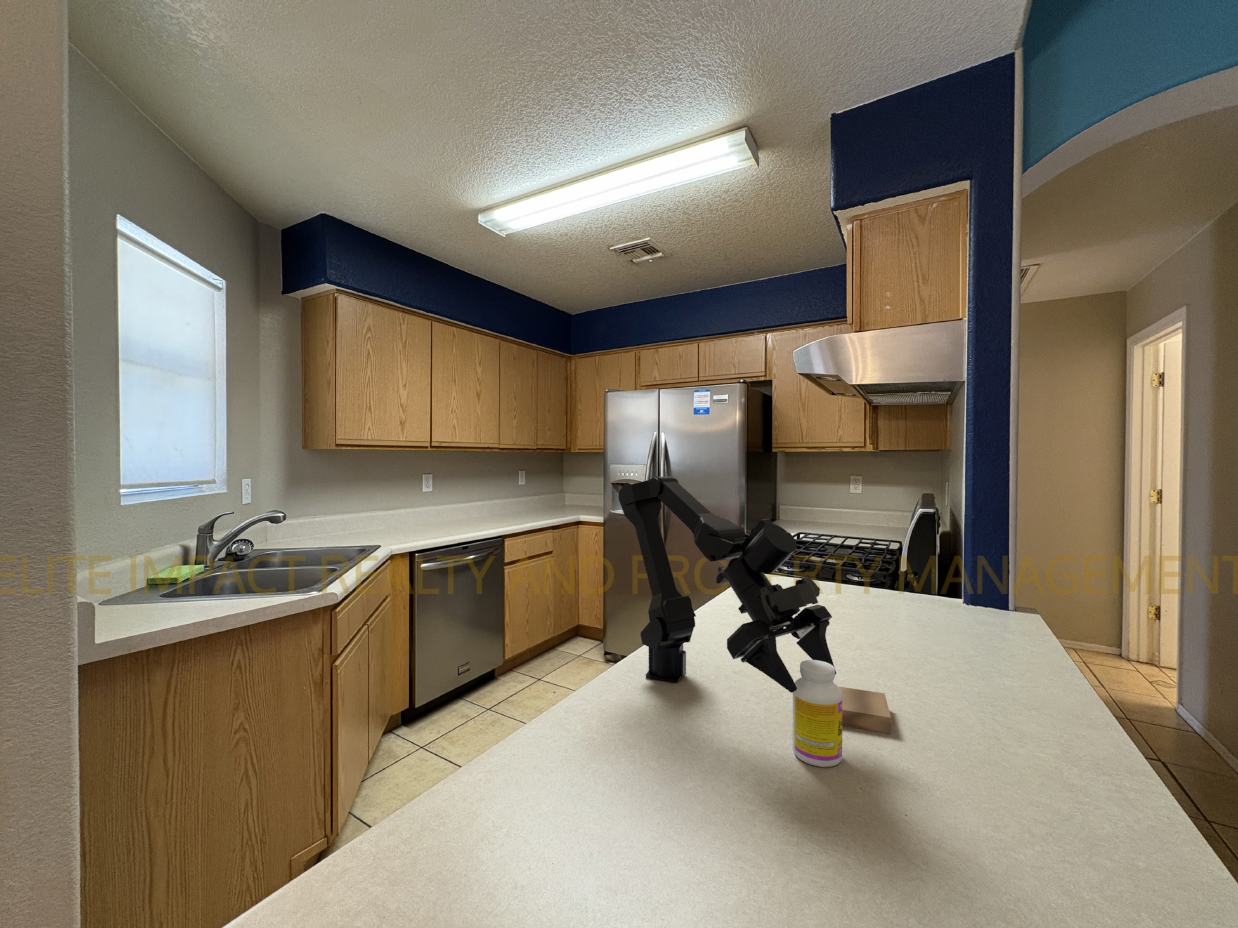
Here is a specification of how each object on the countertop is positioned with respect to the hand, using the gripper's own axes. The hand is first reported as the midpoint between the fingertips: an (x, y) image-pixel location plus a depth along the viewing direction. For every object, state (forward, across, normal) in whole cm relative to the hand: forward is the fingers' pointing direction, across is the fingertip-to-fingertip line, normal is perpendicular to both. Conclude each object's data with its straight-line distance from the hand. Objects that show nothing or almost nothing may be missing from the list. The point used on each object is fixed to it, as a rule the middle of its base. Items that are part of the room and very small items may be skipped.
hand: (814, 683), depth 75 cm
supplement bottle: (+8, 0, +7) cm, 10 cm away
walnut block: (+5, +16, +9) cm, 19 cm away
